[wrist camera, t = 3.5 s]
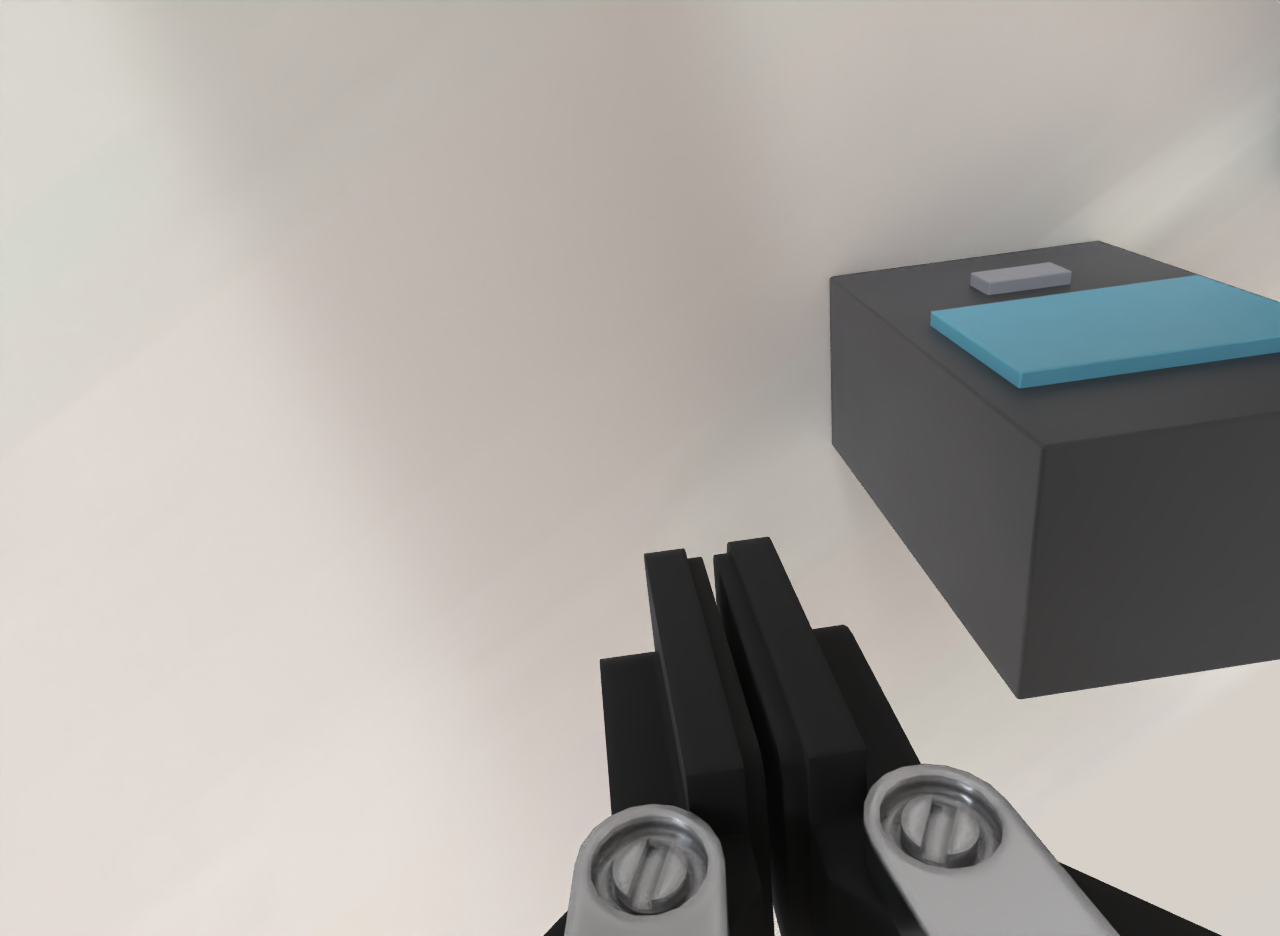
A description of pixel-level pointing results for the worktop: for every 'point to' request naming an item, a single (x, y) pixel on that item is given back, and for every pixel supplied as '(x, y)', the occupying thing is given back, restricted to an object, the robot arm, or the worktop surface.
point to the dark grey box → (1072, 455)
